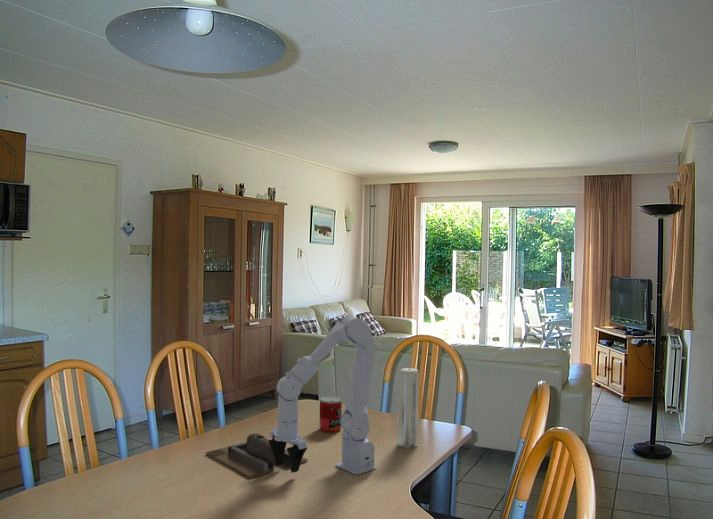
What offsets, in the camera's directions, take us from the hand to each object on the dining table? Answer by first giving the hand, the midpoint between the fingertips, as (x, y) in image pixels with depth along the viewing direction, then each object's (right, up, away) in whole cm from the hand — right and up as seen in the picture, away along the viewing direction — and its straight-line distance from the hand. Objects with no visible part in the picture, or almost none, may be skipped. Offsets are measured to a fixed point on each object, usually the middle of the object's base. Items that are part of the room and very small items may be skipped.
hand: (287, 467), depth 159 cm
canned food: (+10, -2, +42) cm, 43 cm away
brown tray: (-11, -1, +12) cm, 16 cm away
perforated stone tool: (-8, -2, +9) cm, 12 cm away
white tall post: (+37, -2, +27) cm, 45 cm away
